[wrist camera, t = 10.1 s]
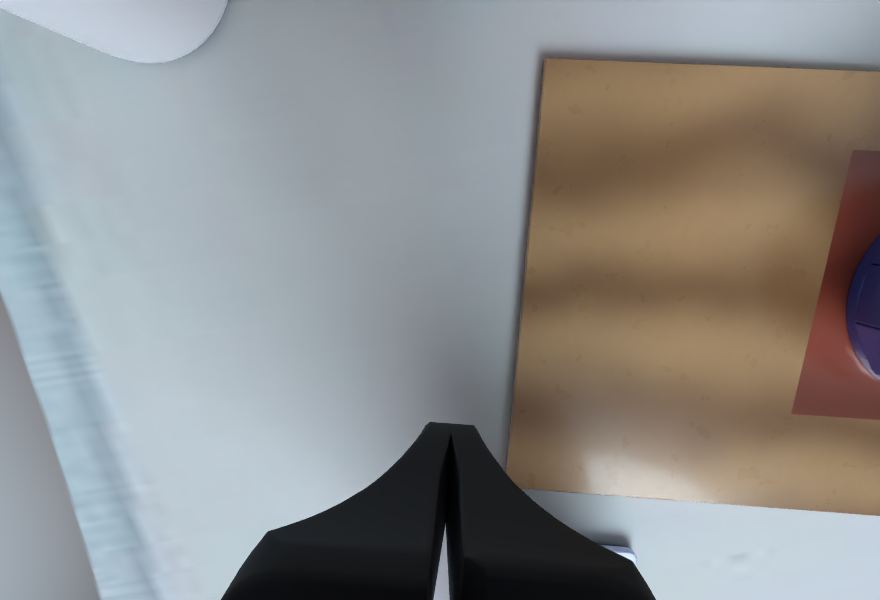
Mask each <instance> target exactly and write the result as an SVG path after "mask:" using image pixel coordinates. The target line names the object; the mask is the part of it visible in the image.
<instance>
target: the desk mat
mask: <svg viewBox="0 0 880 600" xmlns="http://www.w3.org/2000/svg"><path fill="white" fill-rule="evenodd" d="M879 235H880V71H856V70H832V69H807V68H782V67H758V66H733V65H708V64H683V63H659V62H634V61H609V60H584V59H560V58H546V59H545V60H544V66H543V77H542V87H541V98H540V109H539V120H538V131H537V141H536V152H535V163H534V174H533V185H532V196H531V206H530V217H529V228H528V239H527V250H526V261H525V271H524V282H523V293H522V304H521V315H520V326H519V336H518V347H517V358H516V369H515V380H514V391H513V401H512V412H511V423H510V434H509V445H508V456H507V466H506V474H507V475H508V476H509V477H510V478H511V480H512V481H513V482H514V483H515V484H516V485H517V486H518V487H519V488H520V489H533V490H546V491H560V492H573V493H586V494H599V495H612V496H625V497H639V498H652V499H665V500H678V501H691V502H704V503H718V504H731V505H744V506H757V507H770V508H783V509H797V510H810V511H823V512H836V513H849V514H862V515H876V516H880V380H879V379H877V378H876V377H875V376H874V375H872V374H871V373H870V371H869V370H868V369H867V368H866V367H865V366H864V365H863V364H862V362H861V361H860V359H859V358H858V356H857V355H856V352H855V350H854V348H853V346H852V344H851V340H850V337H849V333H848V328H847V320H846V310H847V299H848V294H849V289H850V286H851V282H852V279H853V276H854V274H855V272H856V270H857V267H858V265H859V263H860V261H861V260H862V258H863V256H864V255H865V253H866V251H867V250H868V248H869V247H870V246H871V245H872V243H873V242H874V241H875V239H876V238H877V237H878V236H879Z"/></svg>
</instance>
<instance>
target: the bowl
mask: <svg viewBox="0 0 880 600" xmlns="http://www.w3.org/2000/svg"><path fill="white" fill-rule="evenodd" d="M846 320H847V328H848V333H849V337H850V340H851V344H852V346H853V348H854V350H855V352H856V355H857V356H858V358H859V359H860V361H861V362H862V364H863V365H864V366H865V367H866V368H867V369H868V370H869V371H870V373H871V374H872V375H874V376H875V377H876V378H877V379H879V380H880V235H879V236H878V237H877V238H876V239H875V241H874V242H873V243H872V245H871V246H870V247H869V248H868V250H867V251H866V253H865V255H864V256H863V258H862V260H861V261H860V263H859V265H858V267H857V270H856V272H855V274H854V276H853V279H852V282H851V286H850V289H849V294H848V299H847V310H846Z"/></svg>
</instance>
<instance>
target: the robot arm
mask: <svg viewBox="0 0 880 600" xmlns="http://www.w3.org/2000/svg"><path fill="white" fill-rule="evenodd" d="M445 523H446V538H447V557H448V575H449V594H450V600H656V599H655V597H654V595H653V594H652V592H651V590H650V588H649V587H648V585H647V583H646V582H645V580H644V578H643V577H642V575H641V574H640V572H639V571H638V569H637V568H636V562H637V557H636V555H635V553H634V551H633V550H632V549H631V548H628V547H620V546H607V545H599V544H597V543H595V542H593V541H591V540H589V539H588V538H586V537H584V536H583V535H581V534H579V533H577V532H576V531H574V530H572V529H571V528H569V527H568V526H566V525H565V524H563V523H562V522H560V521H559V520H557V519H556V518H555V517H553V516H552V515H551V514H549V513H548V512H547V511H545V510H544V509H543V508H541V507H540V506H539V505H538V504H536V503H535V502H534V501H533V500H532V499H531V498H530V497H529V496H527V495H526V494H525V493H524V492H523V491H522V490H521V489H520V488H519V487H518V486H517V485H516V484H515V483H514V482H513V481H512V480H511V478H510V477H509V476H508V475H507V474H506V473H505V471H504V470H503V469H502V468H501V466H500V465H499V464H498V462H497V461H496V459H495V458H494V457H493V455H492V454H491V452H490V451H489V449H488V448H487V446H486V445H485V443H484V442H483V440H482V438H481V436H480V435H479V433H478V431H477V429H476V428H475V426H474V425H464V424H450V423H436V422H429V423H428V424H427V425H426V426H425V428H424V429H423V431H422V432H421V434H420V435H419V437H418V438H417V439H416V441H415V442H414V443H413V444H412V445H411V447H410V448H409V449H408V450H407V451H406V452H405V454H404V455H403V456H402V457H401V458H400V459H399V460H398V461H397V462H396V463H395V464H394V465H393V466H392V467H391V468H390V469H389V470H388V471H387V472H385V473H384V474H383V475H382V476H381V477H380V478H378V479H377V480H376V481H375V482H373V483H372V484H371V485H369V486H368V487H367V488H365V489H364V490H362V491H360V492H359V493H357V494H355V495H354V496H352V497H350V498H349V499H347V500H345V501H344V502H342V503H340V504H338V505H336V506H334V507H332V508H330V509H328V510H326V511H323V512H321V513H319V514H317V515H314V516H312V517H309V518H307V519H304V520H301V521H299V522H296V523H293V524H290V525H287V526H284V527H281V528H278V529H275V530H271V531H268V532H267V533H266V534H265V536H264V537H263V538H262V540H261V541H260V542H259V543H258V545H257V546H256V547H255V548H254V550H253V551H252V552H251V554H250V555H249V556H248V558H247V559H246V561H245V562H244V563H243V565H242V566H241V568H240V569H239V571H238V573H237V574H236V576H235V578H234V579H233V581H232V582H231V584H230V586H229V587H228V589H227V591H226V592H225V594H224V595H223V597H222V599H221V600H433V598H434V592H435V585H436V579H437V573H438V567H439V561H440V555H441V548H442V542H443V536H444V530H445Z"/></svg>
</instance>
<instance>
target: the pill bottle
mask: <svg viewBox="0 0 880 600" xmlns="http://www.w3.org/2000/svg"><path fill="white" fill-rule="evenodd" d="M227 2H228V0H0V8H1V9H3V10H5V11H8V12H10V13H12V14H15V15H17V16H19V17H22V18H24V19H27V20H29V21H31V22H34V23H36V24H38V25H41V26H43V27H45V28H48V29H50V30H52V31H55V32H57V33H59V34H62V35H64V36H66V37H69V38H71V39H73V40H76V41H78V42H81V43H83V44H85V45H88V46H90V47H92V48H95V49H97V50H99V51H102V52H104V53H106V54H109V55H112V56H115V57H119V58H122V59H125V60H129V61H134V62H140V63H162V62H168V61H172V60H175V59H178V58H181V57H183V56H185V55H187V54H189V53H191V52H192V51H194V50H195V49H197V48H198V47H199V46H200V45H202V44H203V43H204V42H205V41H206V40H207V39H208V38H209V36H210V35H211V34H212V33H213V31H214V30H215V29H216V27H217V25H218V24H219V22H220V20H221V18H222V16H223V14H224V11H225V9H226V6H227Z"/></svg>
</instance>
